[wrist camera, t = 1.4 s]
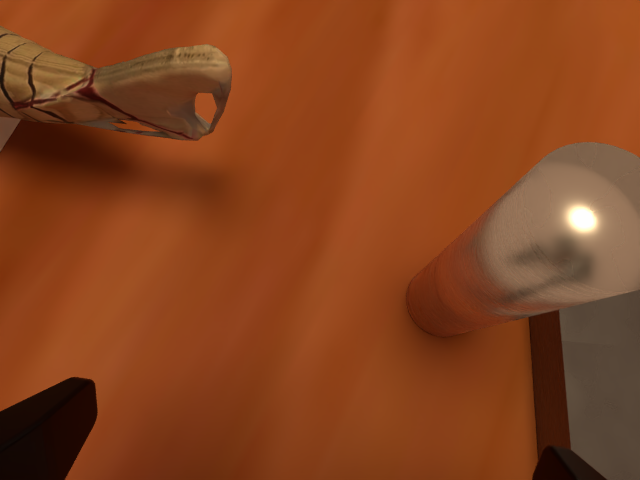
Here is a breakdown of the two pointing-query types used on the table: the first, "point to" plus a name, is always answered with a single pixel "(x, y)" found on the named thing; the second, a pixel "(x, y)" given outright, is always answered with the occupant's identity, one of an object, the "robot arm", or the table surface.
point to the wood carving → (111, 89)
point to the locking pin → (539, 245)
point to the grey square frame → (590, 382)
